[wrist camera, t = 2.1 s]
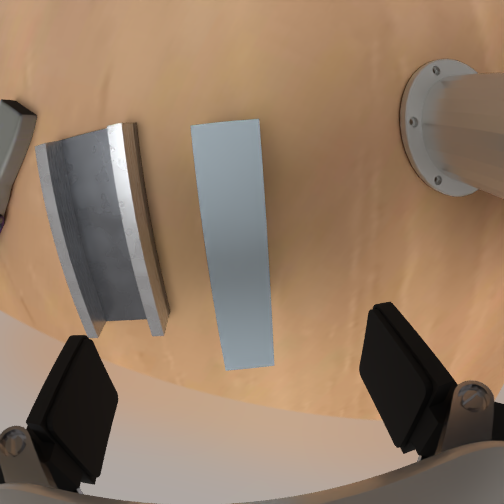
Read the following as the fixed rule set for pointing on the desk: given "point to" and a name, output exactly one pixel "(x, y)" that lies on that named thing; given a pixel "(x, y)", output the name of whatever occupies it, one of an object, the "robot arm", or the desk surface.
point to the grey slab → (236, 238)
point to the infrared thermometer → (12, 146)
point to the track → (104, 227)
